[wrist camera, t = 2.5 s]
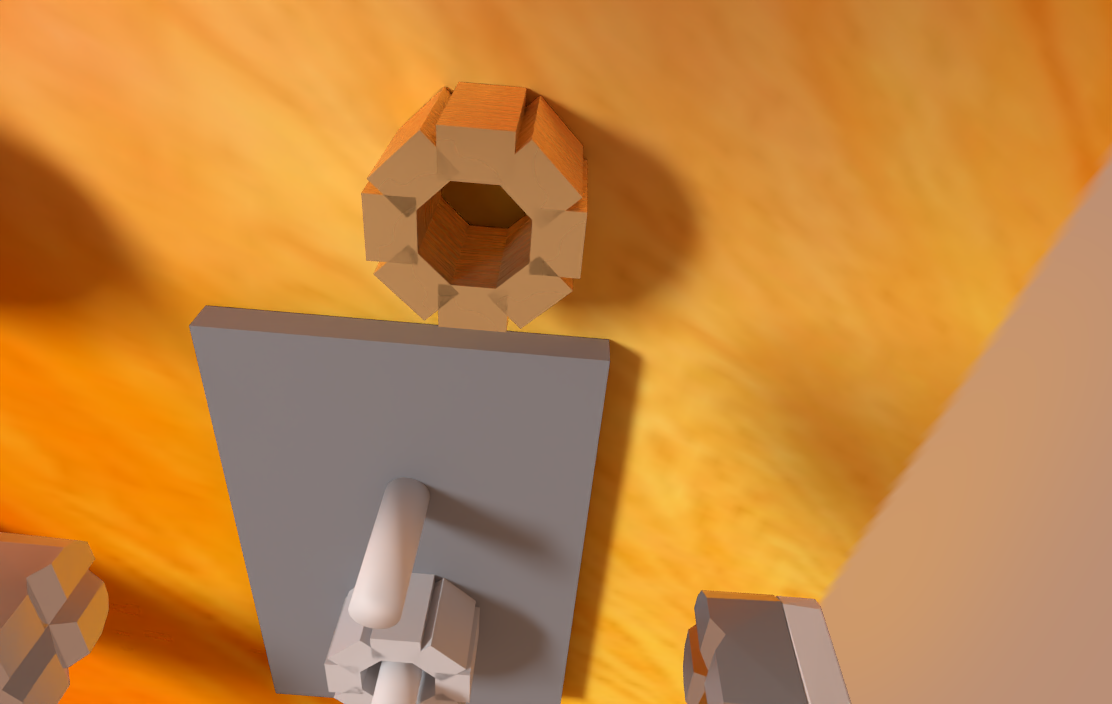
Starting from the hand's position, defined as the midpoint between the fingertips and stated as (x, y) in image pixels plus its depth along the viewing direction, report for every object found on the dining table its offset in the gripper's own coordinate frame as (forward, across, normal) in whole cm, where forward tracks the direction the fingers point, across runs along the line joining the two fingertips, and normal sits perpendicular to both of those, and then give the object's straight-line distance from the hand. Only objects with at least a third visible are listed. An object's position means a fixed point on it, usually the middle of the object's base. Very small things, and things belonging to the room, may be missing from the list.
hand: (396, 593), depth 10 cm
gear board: (+14, +3, +14) cm, 20 cm away
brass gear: (+14, 0, -1) cm, 14 cm away
